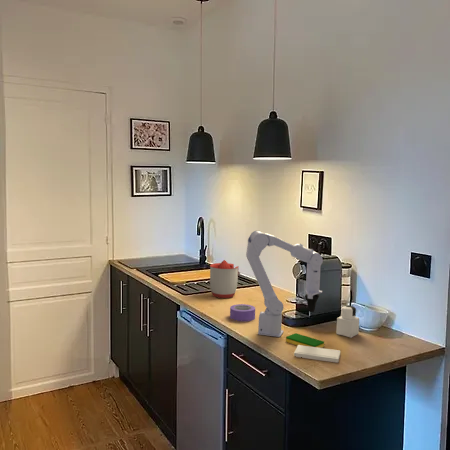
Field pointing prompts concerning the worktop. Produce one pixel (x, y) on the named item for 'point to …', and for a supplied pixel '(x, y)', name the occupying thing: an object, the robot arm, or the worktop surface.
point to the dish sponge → (304, 341)
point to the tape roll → (242, 312)
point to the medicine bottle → (347, 322)
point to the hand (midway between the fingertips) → (311, 311)
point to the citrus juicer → (223, 279)
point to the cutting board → (317, 353)
